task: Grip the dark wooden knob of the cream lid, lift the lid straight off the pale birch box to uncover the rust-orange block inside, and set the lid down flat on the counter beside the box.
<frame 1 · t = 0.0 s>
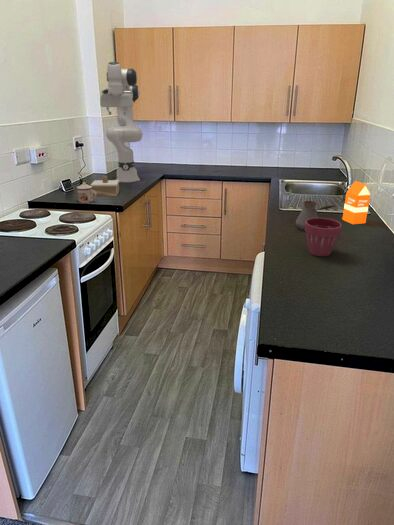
hand: (117, 114, 248), 48 cm above the worktop, tool pointing down, fingers open, 8 cm apart
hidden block: (106, 193, 253), point 1 cm above the worktop, touching box
plant pot: (319, 252, 161), on the worktop
coffee pot: (314, 231, 186), on the worktop
lid: (105, 183, 250), point 7 cm above the worktop, touching box
teacup with lid: (88, 202, 235), on the worktop
orange juice: (353, 221, 201), on the worktop
box: (106, 194, 253), on the worktop
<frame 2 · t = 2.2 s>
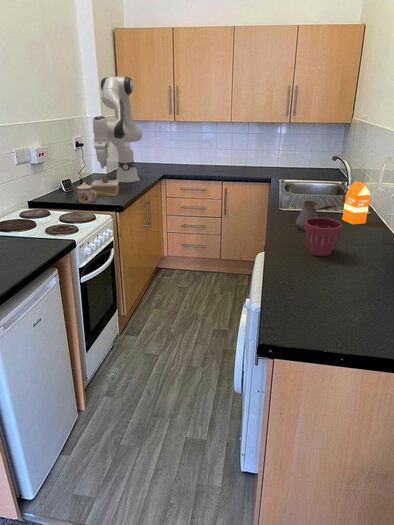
hand: (103, 167, 246), 18 cm above the worktop, tool pointing down, fingers open, 8 cm apart
nothing on the worktop moved.
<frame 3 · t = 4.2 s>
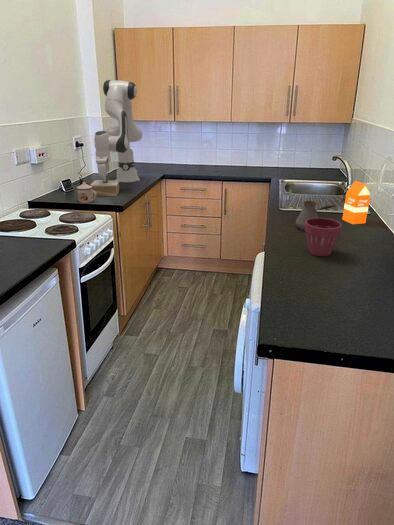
hand: (105, 180, 249), 9 cm above the worktop, tool pointing down, fingers closed on lid, 3 cm apart
lid: (105, 183, 250), point 7 cm above the worktop, touching box, gripper
everything else where it was.
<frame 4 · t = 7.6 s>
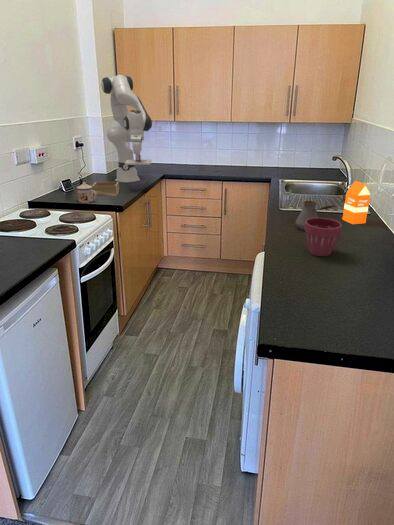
hand: (138, 159, 254), 21 cm above the worktop, tool pointing down, fingers closed on lid, 3 cm apart
lid: (138, 162, 255), point 19 cm above the worktop, touching gripper
everything else where it was.
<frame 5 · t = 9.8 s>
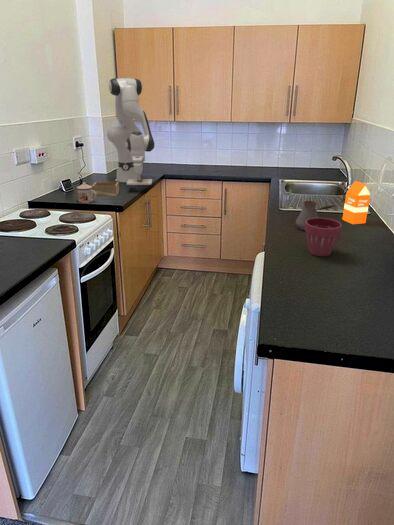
hand: (139, 179, 259), 8 cm above the worktop, tool pointing down, fingers closed on lid, 3 cm apart
lid: (139, 182, 260), point 6 cm above the worktop, touching gripper
everything else where it was.
when the fingers open (4 cm above the worktop, at t = 11.4 s): lid drops 2 cm, on the worktop.
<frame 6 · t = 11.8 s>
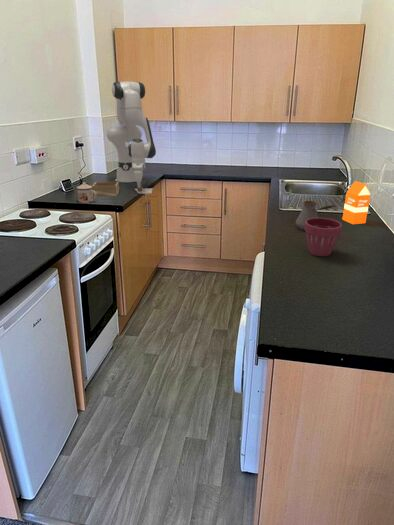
hand: (139, 186, 261), 4 cm above the worktop, tool pointing down, fingers open, 7 cm apart
lid: (140, 192, 263), on the worktop
everything else where it was.
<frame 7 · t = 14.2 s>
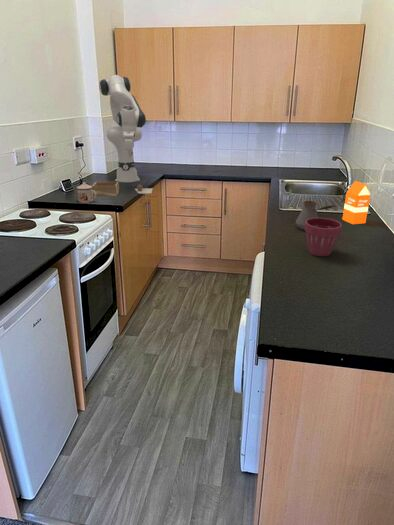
hand: (130, 156, 255), 23 cm above the worktop, tool pointing down, fingers open, 8 cm apart
nothing on the worktop moved.
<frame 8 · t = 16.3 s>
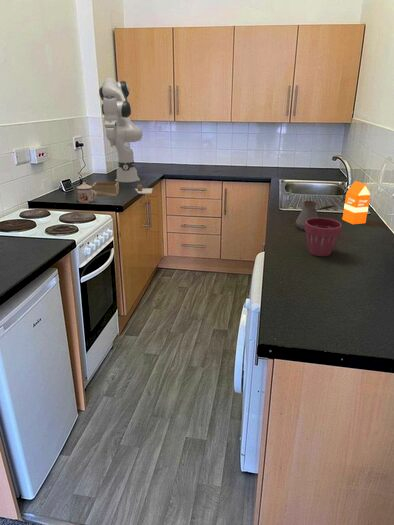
hand: (113, 145, 254), 29 cm above the worktop, tool pointing down, fingers open, 8 cm apart
nothing on the worktop moved.
at the end: lid inside the target area (0.1 cm from its centre), on the worktop; lid touching worktop; the gripper is holding nothing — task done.
